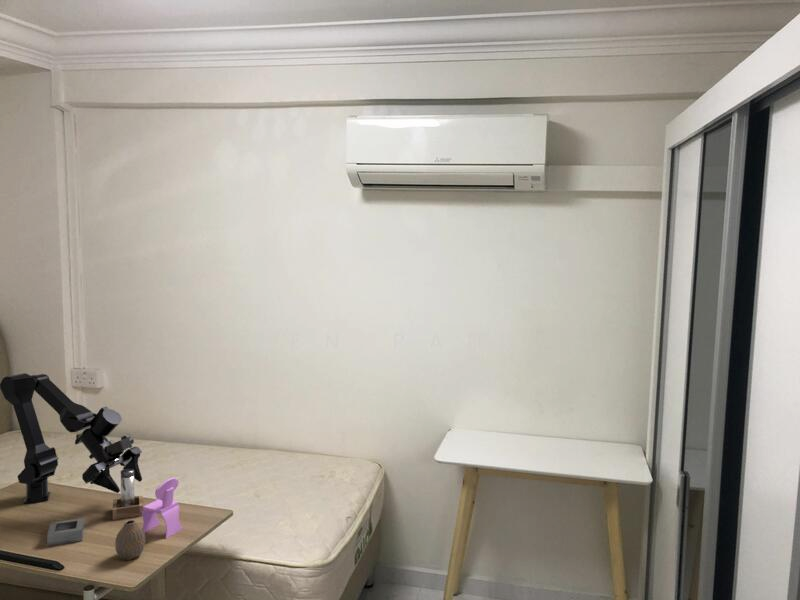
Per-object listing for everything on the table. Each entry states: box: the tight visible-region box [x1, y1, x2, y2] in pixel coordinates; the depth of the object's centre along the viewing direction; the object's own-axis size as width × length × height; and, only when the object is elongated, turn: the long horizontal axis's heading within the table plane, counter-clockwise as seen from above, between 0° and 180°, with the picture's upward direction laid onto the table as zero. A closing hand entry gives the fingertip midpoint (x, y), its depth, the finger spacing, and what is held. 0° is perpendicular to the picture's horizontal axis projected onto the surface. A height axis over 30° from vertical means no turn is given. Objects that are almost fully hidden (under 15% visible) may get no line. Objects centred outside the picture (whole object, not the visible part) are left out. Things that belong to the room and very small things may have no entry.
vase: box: [114, 519, 146, 561], centre depth 149 cm, size 7×7×9 cm
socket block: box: [46, 517, 85, 547], centre depth 159 cm, size 8×8×3 cm
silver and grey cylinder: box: [120, 469, 135, 507], centre depth 175 cm, size 4×4×12 cm
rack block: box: [112, 495, 144, 521], centre depth 175 cm, size 8×8×3 cm
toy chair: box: [142, 477, 184, 539], centre depth 164 cm, size 8×9×15 cm
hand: (130, 486), depth 175 cm, fingers open, 9 cm apart
